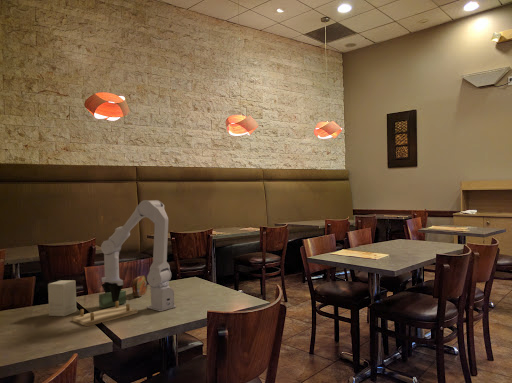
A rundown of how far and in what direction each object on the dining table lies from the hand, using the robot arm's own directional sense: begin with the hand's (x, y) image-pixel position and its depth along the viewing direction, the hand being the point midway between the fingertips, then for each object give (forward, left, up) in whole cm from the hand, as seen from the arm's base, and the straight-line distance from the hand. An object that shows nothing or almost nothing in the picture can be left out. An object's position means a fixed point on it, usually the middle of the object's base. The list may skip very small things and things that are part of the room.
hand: (112, 300), depth 165 cm
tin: (+8, -18, -2) cm, 20 cm away
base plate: (-13, +10, -2) cm, 17 cm away
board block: (0, 0, -2) cm, 2 cm away
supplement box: (+6, +18, -2) cm, 19 cm away
